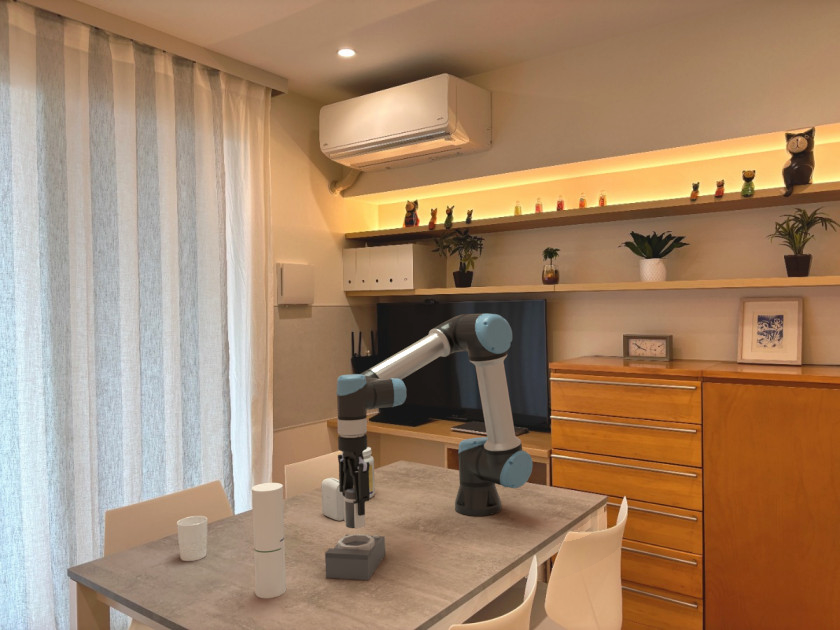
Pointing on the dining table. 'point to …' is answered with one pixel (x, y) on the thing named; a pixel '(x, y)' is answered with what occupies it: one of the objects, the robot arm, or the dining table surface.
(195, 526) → the white cup
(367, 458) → the supplement tub
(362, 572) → the camera body
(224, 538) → the dining table surface
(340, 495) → the photo printer
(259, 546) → the cylindrical container
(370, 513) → the dining table surface
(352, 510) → the lens
